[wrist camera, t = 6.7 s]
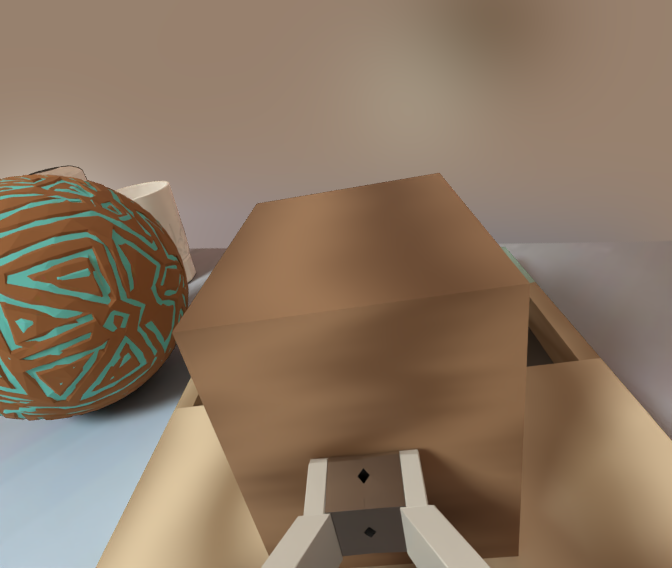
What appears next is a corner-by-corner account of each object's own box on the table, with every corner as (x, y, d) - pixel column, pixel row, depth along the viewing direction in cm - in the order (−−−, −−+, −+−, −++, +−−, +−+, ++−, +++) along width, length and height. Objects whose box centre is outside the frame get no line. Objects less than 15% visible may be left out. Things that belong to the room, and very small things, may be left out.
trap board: (97, 664, 15) (64, 629, 14) (244, 311, 36) (236, 286, 35) (767, 628, 13) (794, 584, 12) (504, 274, 34) (505, 246, 33)
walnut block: (276, 573, 14) (171, 332, 10) (304, 377, 23) (256, 203, 18) (518, 556, 13) (530, 283, 9) (451, 359, 22) (439, 172, 18)
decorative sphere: (237, 315, 36) (176, 135, 29) (172, 464, 23) (31, 195, 16) (76, 338, 37) (-18, 172, 30) (-73, 490, 24) (-298, 255, 17)
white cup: (202, 259, 49) (172, 176, 45) (200, 287, 42) (165, 191, 38) (134, 277, 48) (96, 193, 44) (120, 309, 41) (74, 213, 37)
